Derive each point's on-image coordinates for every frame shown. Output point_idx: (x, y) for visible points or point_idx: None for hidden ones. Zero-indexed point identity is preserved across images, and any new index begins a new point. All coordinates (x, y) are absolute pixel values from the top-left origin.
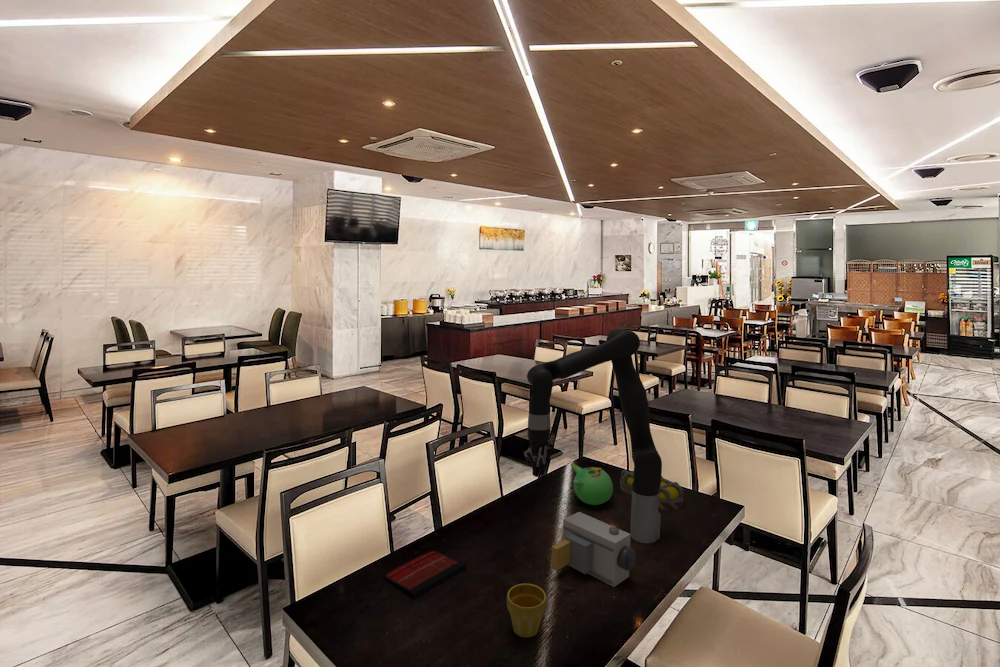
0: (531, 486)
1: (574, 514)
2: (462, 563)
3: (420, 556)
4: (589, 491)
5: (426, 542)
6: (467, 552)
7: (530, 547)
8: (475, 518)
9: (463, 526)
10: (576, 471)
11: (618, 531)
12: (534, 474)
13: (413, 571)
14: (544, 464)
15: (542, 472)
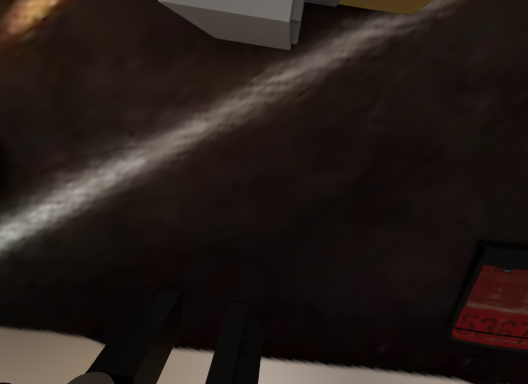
0: (32, 329)
1: (202, 3)
2: (486, 255)
3: (493, 345)
4: None
5: (418, 366)
6: (406, 278)
7: (289, 167)
8: None
9: (307, 346)
10: None
11: None
12: (261, 339)
13: None
14: (93, 370)
15: (173, 306)
